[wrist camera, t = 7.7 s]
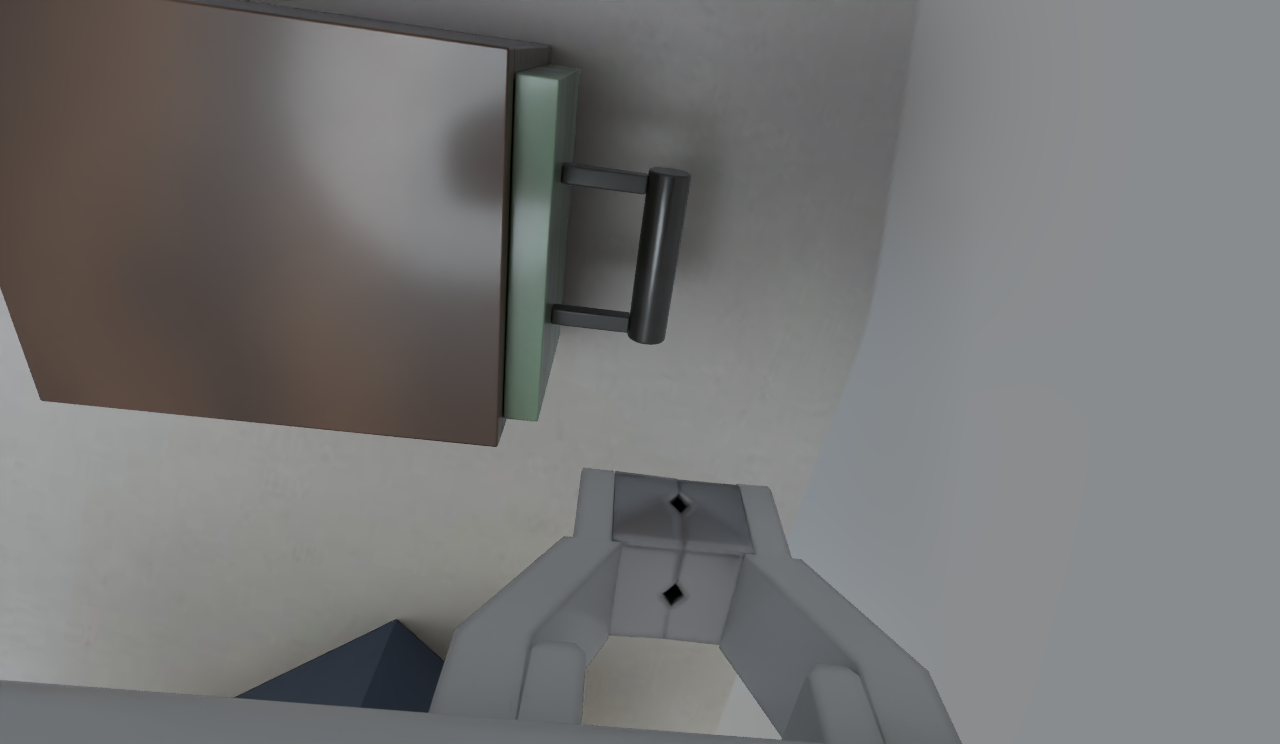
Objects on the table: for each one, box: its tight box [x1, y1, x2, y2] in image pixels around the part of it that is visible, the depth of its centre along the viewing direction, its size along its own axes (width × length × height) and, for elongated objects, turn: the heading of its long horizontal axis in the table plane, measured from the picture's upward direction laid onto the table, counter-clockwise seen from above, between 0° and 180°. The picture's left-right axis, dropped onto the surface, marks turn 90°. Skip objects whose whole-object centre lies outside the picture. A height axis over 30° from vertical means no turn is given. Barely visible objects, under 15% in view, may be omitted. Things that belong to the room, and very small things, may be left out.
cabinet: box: [0, 0, 551, 447], centre depth 22 cm, size 15×12×9 cm
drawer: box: [503, 64, 691, 421], centre depth 22 cm, size 18×11×7 cm, turn 83°
